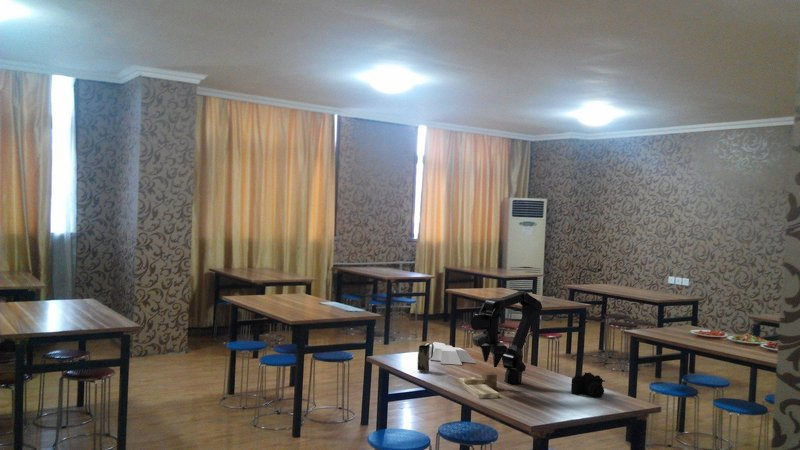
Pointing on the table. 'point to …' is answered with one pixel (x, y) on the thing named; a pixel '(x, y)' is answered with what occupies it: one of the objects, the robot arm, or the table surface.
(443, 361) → the white faceted block
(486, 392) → the board
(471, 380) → the wooden mallet
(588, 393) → the film camera
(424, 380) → the table surface
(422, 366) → the mug
